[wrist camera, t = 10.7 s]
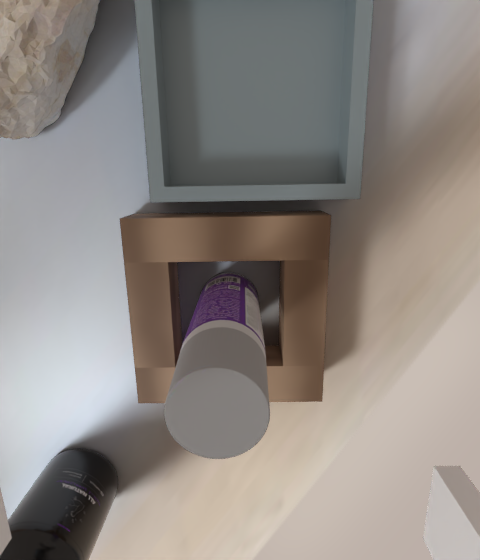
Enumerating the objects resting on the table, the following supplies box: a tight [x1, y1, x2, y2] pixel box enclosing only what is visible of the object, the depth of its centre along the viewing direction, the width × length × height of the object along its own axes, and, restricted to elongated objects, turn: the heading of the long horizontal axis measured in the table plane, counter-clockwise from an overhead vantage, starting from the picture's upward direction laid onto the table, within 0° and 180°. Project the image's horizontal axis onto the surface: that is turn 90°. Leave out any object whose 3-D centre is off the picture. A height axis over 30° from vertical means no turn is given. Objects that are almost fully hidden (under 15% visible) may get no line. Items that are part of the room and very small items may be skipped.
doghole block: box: [120, 211, 331, 403], centre depth 28 cm, size 14×14×4 cm
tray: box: [134, 0, 373, 202], centre depth 25 cm, size 14×14×3 cm
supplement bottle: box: [0, 449, 118, 560], centre depth 29 cm, size 7×7×12 cm
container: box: [164, 273, 270, 459], centre depth 23 cm, size 5×5×15 cm
